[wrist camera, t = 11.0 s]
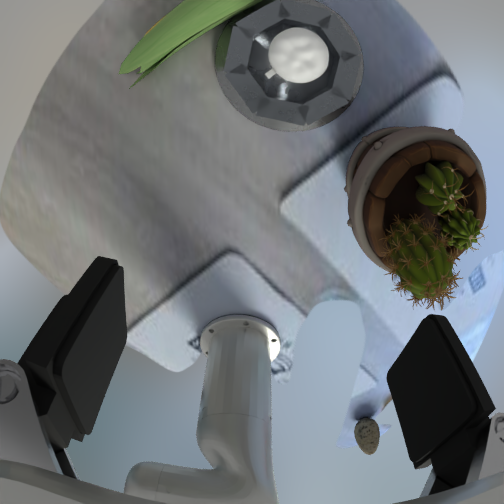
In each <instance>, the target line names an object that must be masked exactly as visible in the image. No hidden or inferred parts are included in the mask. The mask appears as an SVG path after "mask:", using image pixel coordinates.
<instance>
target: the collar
mask: <svg viewBox="0 0 504 504" xmlns="http://www.w3.org/2000/svg"><path fill="white" fill-rule="evenodd" d="M296 27H297V28H304V29H307V30H310V31H312V32H314V33H316V34H317V35H318V36H319V37H320V38H321V39H322V40H323V41H324V43H325V44H326V46H327V48H328V52H329V62H328V66H327V69H326V70H325V72H324V73H323V74H322V75H321V76H320V77H318V78H316V79H315V80H312V81H310V82H306V83H295V82H290V81H287V80H285V79H283V78H282V77H281V76H279V75H278V74H277V73H276V74H275V75H273V76H272V77H271V78H269V79H268V78H267V77H266V76H265V73H267V72H268V71H270V70H271V69H272V66H271V64H270V61H269V57H268V52H269V47H270V44H271V42H272V40H273V39H274V37H275V36H276V35H278V34H279V33H281V32H282V31H284V30H286V29H289V28H296ZM363 65H364V64H363V55H362V51H361V47H360V44H359V42H358V39H357V37H356V36H355V34H354V32H353V30H352V29H351V28H350V26H349V25H348V24H347V22H346V21H345V20H344V19H343V18H342V17H341V16H340V15H338V14H337V13H336V12H335V11H333V10H332V9H330V8H329V7H327V6H325V5H323V4H321V3H319V2H317V1H314V0H263V1H261V2H259V3H257V4H255V5H254V6H252V7H250V8H248V9H246V10H244V11H243V12H241V13H239V14H237V15H235V16H234V17H233V18H232V19H231V20H230V22H229V23H228V24H227V25H226V27H225V29H224V30H223V32H222V34H221V36H220V38H219V41H218V45H217V48H216V56H215V67H216V73H217V78H218V81H219V84H220V86H221V88H222V91H223V93H224V94H225V96H226V97H227V99H228V100H229V102H230V103H231V104H232V105H233V106H234V107H235V108H236V109H237V110H238V111H239V112H240V113H241V114H242V115H244V116H245V117H247V118H248V119H249V120H251V121H253V122H255V123H257V124H259V125H261V126H264V127H266V128H270V129H274V130H279V131H287V132H297V131H306V130H311V129H315V128H318V127H321V126H323V125H325V124H327V123H329V122H331V121H333V120H334V119H336V118H337V117H338V116H340V115H341V114H342V113H343V112H344V111H345V110H346V109H347V108H348V107H349V106H350V104H351V103H352V102H353V100H354V99H355V97H356V95H357V93H358V91H359V88H360V85H361V82H362V77H363Z"/></svg>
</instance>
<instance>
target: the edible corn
mask: <svg viewBox="0 0 504 504" xmlns="http://www.w3.org/2000/svg"><path fill="white" fill-rule="evenodd" d="M261 1H263V0H184V1H183V2H182V3H180V4H179V5H178V6H177V7H175V8H174V9H173V10H172V11H171V12H169V13H168V14H167V15H166V16H164V17H163V18H162V19H161V20H159V21H158V22H157V23H156V24H155V25H154V26H153V27H152V28H151V29H150V30H149V31H148V32H147V33H146V34H145V36H144V37H143V38H142V39H141V40H140V41H139V42H138V43H137V45H136V46H135V47H134V48H133V50H132V51H131V52H130V54H129V55H128V56H127V57H126V59H125V60H124V61H123V63H122V64H121V68H120V71H119V74H125V73H129V72H131V71H133V70H135V69H137V68H138V67H140V66H141V70H140V71H139V72H138V73H142V72H143V71H145V70H146V71H145V72H144V73H143V74H142V75H141V76H140V77H139V78H138V79H137V81H136V82H135V83H134V84H133V85H132V86H134V85H135V84H136V83H137V82H139V81H140V80H141V79H142V78H144V77H145V76H146V75H148V74H149V73H150V72H151V71H153V70H154V69H155V68H156V67H157V66H159V65H160V64H161V63H162V62H163V61H165V60H166V59H167V58H169V57H170V56H171V55H173V54H174V53H176V52H177V51H178V50H180V49H181V48H183V47H184V46H186V45H187V44H189V43H190V42H192V41H193V40H195V39H196V38H198V37H199V36H201V35H202V34H204V33H206V32H207V31H209V30H210V29H212V28H214V27H216V26H217V25H219V24H221V23H223V22H224V21H226V20H228V19H230V18H232V17H233V16H235V15H237V14H239V13H241V12H243V11H244V10H246V9H248V8H250V7H252V6H254V5H255V4H257V3H259V2H261ZM138 73H137V74H138ZM132 86H131V87H132ZM131 87H130V88H131ZM130 88H129V89H130Z"/></svg>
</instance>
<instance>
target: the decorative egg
mask: <svg viewBox="0 0 504 504" xmlns="http://www.w3.org/2000/svg"><path fill="white" fill-rule="evenodd" d="M354 434H355V439H356V441H357V443H358V445H359V447H360V448H361V450H362V451H363V452H364V453H366V454H368V455H371V454H373V453H374V452H375V451H376V449H377V447H378V444H379V437H380V432H379V427H378V424H377V423H376V421H375V420H373V419H371V418H363V419H361V420H360V421H358V423H357V424H356V426H355V430H354Z"/></svg>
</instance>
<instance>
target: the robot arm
mask: <svg viewBox="0 0 504 504" xmlns="http://www.w3.org/2000/svg"><path fill="white" fill-rule="evenodd" d="M126 340H127V326H126V312H125V294H124V270H123V267H122V266H118V261H117V260H115V259H110V258H105V257H101V256H98V257H97V258H96V259H95V260H94V261H93V262H92V264H91V265H90V266H89V268H88V269H87V270H86V272H85V273H84V274H83V275H82V277H81V278H80V279H79V281H78V282H77V284H76V285H75V286H74V288H73V289H72V290H71V292H70V293H69V294H68V295H65V296H63V297H62V298H61V299H60V300H59V302H58V303H57V305H56V306H55V308H54V309H53V310H52V312H51V313H50V314H49V316H48V318H47V319H46V320H45V322H44V323H43V325H42V326H41V328H40V329H39V331H38V332H37V334H36V335H35V337H34V338H33V340H32V341H31V343H30V344H29V346H28V347H27V349H26V351H25V352H24V354H23V355H22V357H21V359H20V360H19V362H18V363H15V362H13V361H11V360H6V359H1V360H0V504H279V499H278V494H277V489H276V484H275V478H274V470H273V460H272V418H271V417H272V416H271V415H272V413H271V412H272V411H271V362H272V361H273V360H274V359H275V358H276V357H277V355H278V353H279V351H280V337H279V335H278V333H277V331H276V330H275V329H274V328H273V327H272V326H271V325H270V324H268V323H267V322H265V321H263V320H261V319H259V318H256V317H252V316H247V315H228V316H224V317H220V318H218V319H215V320H213V321H212V322H210V323H209V324H208V325H207V326H206V327H205V328H204V330H203V331H202V334H201V338H200V346H201V349H202V351H203V353H204V354H205V356H206V357H207V363H206V370H205V376H204V383H203V390H202V396H201V403H200V410H199V417H198V424H197V432H196V436H197V443H198V446H199V448H200V450H201V452H202V453H203V455H204V457H205V458H206V459H207V461H208V462H209V463H210V464H211V466H212V467H213V468H214V469H211V470H208V469H196V468H188V467H182V466H175V465H169V464H163V463H157V462H140V463H137V464H136V465H134V466H133V467H132V468H131V470H130V471H129V473H128V475H127V478H126V482H125V487H124V493H120V492H116V491H113V490H109V489H106V488H103V487H99V486H96V485H93V484H90V483H87V482H84V481H80V479H79V477H78V475H77V472H76V470H75V468H74V466H73V464H72V461H71V459H70V457H69V455H68V452H67V450H66V448H67V447H68V445H69V443H70V440H71V438H72V439H75V440H78V441H81V442H82V441H83V438H84V435H85V434H87V435H89V434H90V433H91V432H92V430H93V427H94V424H95V421H96V418H97V416H98V412H99V410H100V407H101V405H102V402H103V399H104V397H105V394H106V391H107V389H108V386H109V384H110V381H111V378H112V376H113V373H114V371H115V368H116V366H117V364H118V361H119V358H120V356H121V354H122V351H123V349H124V346H125V344H126ZM387 383H388V386H389V389H390V392H391V395H392V399H393V402H394V405H395V408H396V412H397V415H398V418H399V422H400V425H401V428H402V432H403V436H404V439H405V443H406V447H407V450H408V454H409V458H410V460H411V461H412V462H413V464H414V468H415V469H420V468H425V467H428V466H429V465H431V464H432V466H433V469H432V470H431V473H430V475H429V477H428V480H427V482H426V484H425V487H424V489H423V491H422V493H421V495H420V497H419V498H417V499H413V500H408V501H404V502H399V503H394V504H504V413H497V414H495V415H494V416H493V417H492V418H491V419H489V417H488V416H489V415H490V414H491V413H492V412H493V411H494V410H495V409H496V408H495V406H494V404H493V402H492V400H491V398H490V396H489V394H488V392H487V390H486V388H485V386H484V384H483V382H482V380H481V378H480V376H479V374H478V372H477V370H476V368H475V367H474V365H473V363H472V361H471V359H470V357H469V355H468V354H467V352H466V350H465V348H464V347H463V345H462V343H461V341H460V340H459V338H458V336H457V334H456V333H455V331H454V329H453V328H452V326H451V324H450V323H449V321H448V319H447V318H446V317H445V316H442V315H434V314H430V315H428V316H427V317H426V318H424V319H423V320H422V321H421V323H420V325H419V326H418V328H417V329H416V331H415V333H414V334H413V336H412V337H411V339H410V340H409V342H408V343H407V345H406V346H405V348H404V349H403V351H402V352H401V354H400V355H399V357H398V358H397V359H396V361H395V362H394V364H393V365H392V367H391V368H390V369H389V371H388V373H387Z"/></svg>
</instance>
